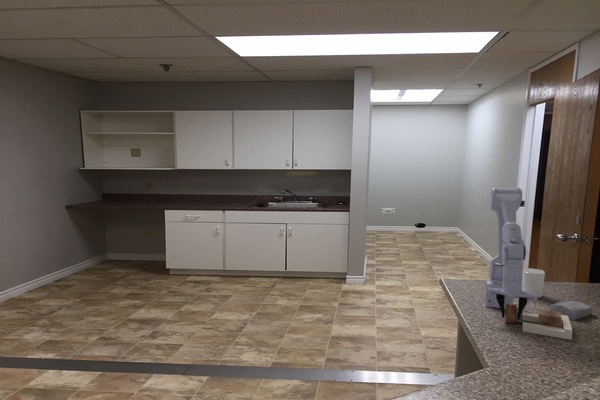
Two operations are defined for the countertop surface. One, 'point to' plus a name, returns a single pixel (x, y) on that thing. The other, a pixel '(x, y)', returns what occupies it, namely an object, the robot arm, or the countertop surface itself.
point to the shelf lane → (547, 327)
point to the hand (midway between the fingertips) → (510, 318)
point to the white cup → (533, 281)
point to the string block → (543, 317)
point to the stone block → (572, 309)
